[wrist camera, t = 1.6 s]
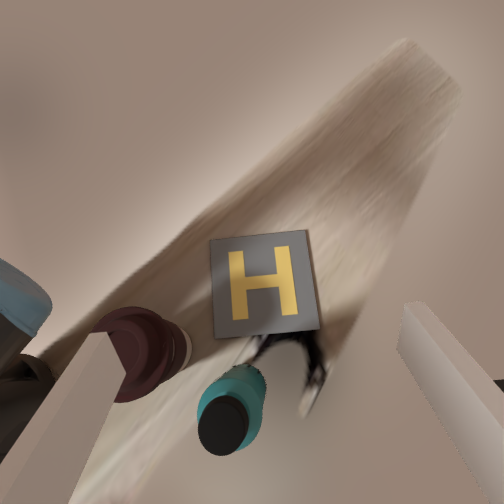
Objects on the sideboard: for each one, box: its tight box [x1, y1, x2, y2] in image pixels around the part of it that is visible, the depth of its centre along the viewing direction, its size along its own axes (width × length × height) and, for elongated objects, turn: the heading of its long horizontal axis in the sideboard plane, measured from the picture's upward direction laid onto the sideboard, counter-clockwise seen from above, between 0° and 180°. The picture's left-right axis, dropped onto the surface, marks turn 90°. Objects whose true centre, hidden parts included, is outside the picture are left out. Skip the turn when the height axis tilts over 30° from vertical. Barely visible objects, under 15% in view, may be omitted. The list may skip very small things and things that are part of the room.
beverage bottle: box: [197, 363, 266, 456], centre depth 32 cm, size 6×7×20 cm
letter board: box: [210, 230, 320, 339], centre depth 45 cm, size 16×16×1 cm
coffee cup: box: [90, 307, 192, 403], centre depth 36 cm, size 10×10×15 cm
